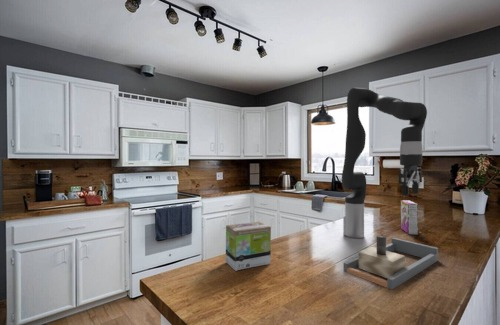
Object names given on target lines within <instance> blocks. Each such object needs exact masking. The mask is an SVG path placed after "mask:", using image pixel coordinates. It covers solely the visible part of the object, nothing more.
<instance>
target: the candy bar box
mask: <svg viewBox="0 0 500 325" xmlns="http://www.w3.org/2000/svg"><path fill="white" fill-rule="evenodd" d="M418 207H419V204H418V203H416V202H414V201H411V200H407V199H406V200H405V199H403V200H401V199H400V230H403V231H404V232H405V233H406V234H407V235H415V236H417V235H419V220H418V219H419V208H418Z"/></svg>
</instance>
